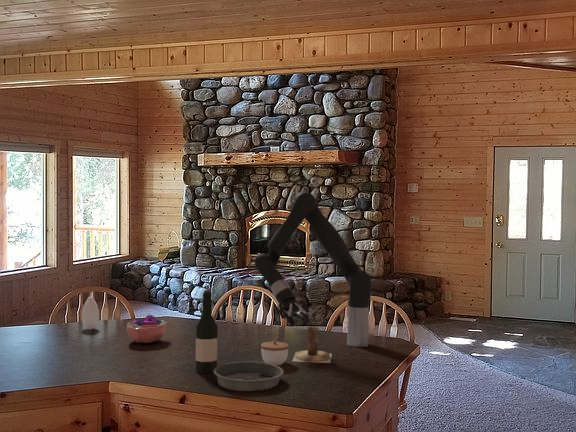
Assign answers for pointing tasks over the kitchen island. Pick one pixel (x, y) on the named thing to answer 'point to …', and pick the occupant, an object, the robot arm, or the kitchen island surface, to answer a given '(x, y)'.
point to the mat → (318, 362)
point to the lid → (312, 349)
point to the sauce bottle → (90, 313)
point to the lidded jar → (274, 352)
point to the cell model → (146, 329)
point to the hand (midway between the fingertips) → (301, 324)
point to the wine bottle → (206, 338)
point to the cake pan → (247, 368)
